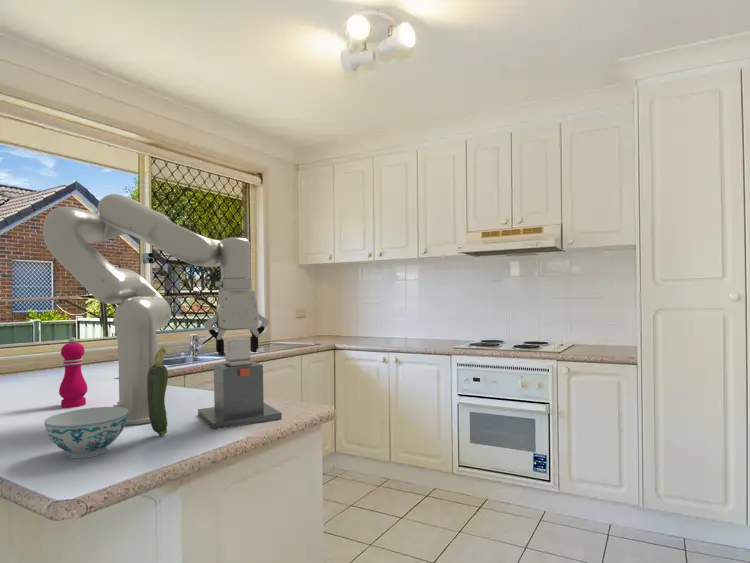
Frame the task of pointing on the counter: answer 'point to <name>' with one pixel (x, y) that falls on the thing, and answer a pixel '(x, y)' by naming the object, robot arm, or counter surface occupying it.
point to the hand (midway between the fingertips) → (237, 353)
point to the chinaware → (86, 429)
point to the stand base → (238, 397)
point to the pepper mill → (73, 376)
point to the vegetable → (157, 393)
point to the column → (237, 352)
